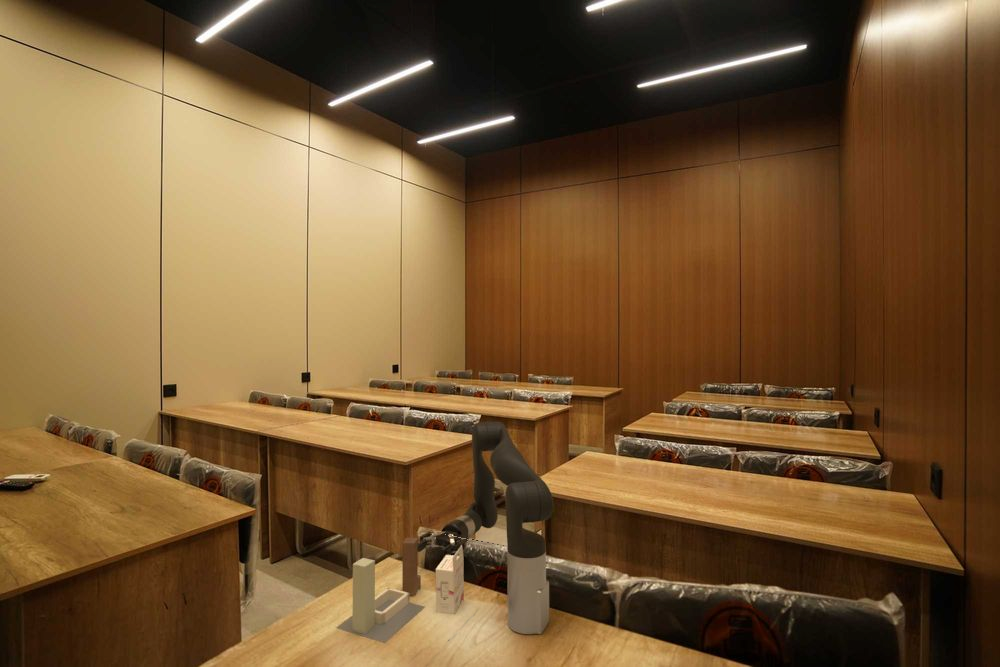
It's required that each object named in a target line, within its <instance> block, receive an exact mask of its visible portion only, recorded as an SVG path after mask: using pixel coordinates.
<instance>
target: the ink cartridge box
mask: <svg viewBox="0 0 1000 667" xmlns="http://www.w3.org/2000/svg"><path fill="white" fill-rule="evenodd" d="M464 562H465V561H464V551H463V548H462V545H461V546H460V548H459V549H458V551H455V553H454V555H453V554H452V555H451V554H450V555H446V556H445V557H443V558H442V560H441V561H440V562H439V564H438V565H437V567H436V568H435V595H436V596H435V598H436V599H435V605H436V606H435V608H436V613H439V614H447V615H455V614H456V612H457V610H458V609H459V607H460V605H461V602H462V601H464V598H465V593H464V590H465V589H464V588H465V584H464V582H465V581H464V579H465V578H464V577H465V574H464V572H465V571H464Z"/></svg>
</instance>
